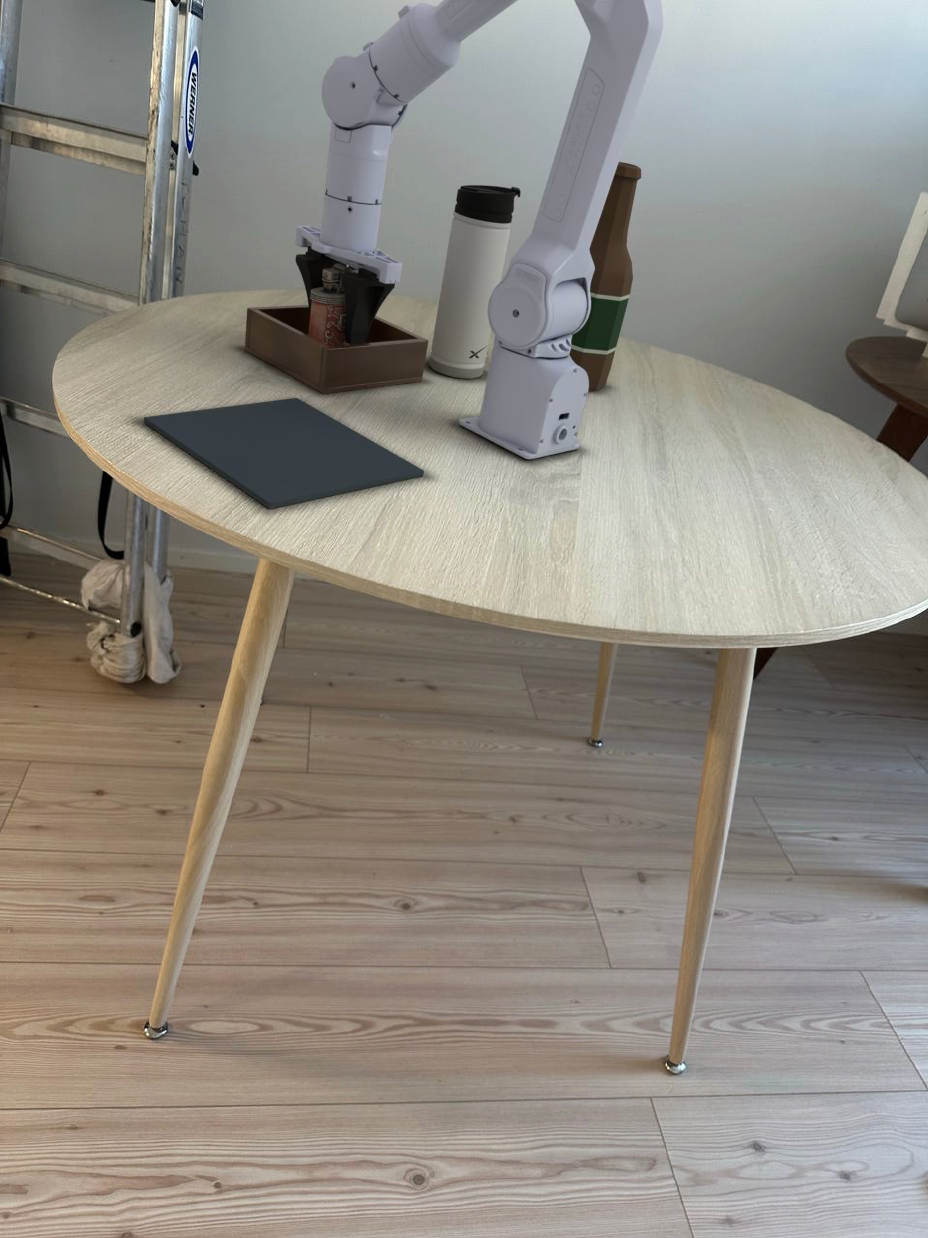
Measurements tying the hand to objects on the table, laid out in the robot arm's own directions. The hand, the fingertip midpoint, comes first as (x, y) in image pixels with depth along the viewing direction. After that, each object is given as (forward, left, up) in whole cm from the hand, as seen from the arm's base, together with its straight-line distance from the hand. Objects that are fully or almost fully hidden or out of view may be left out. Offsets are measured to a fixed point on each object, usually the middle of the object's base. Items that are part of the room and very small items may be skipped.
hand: (337, 334), depth 104 cm
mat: (-17, +19, -3) cm, 26 cm away
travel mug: (-5, -14, -4) cm, 15 cm away
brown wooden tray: (0, 0, -3) cm, 3 cm away
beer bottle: (-12, -27, -4) cm, 30 cm away
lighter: (0, 0, -3) cm, 3 cm away
